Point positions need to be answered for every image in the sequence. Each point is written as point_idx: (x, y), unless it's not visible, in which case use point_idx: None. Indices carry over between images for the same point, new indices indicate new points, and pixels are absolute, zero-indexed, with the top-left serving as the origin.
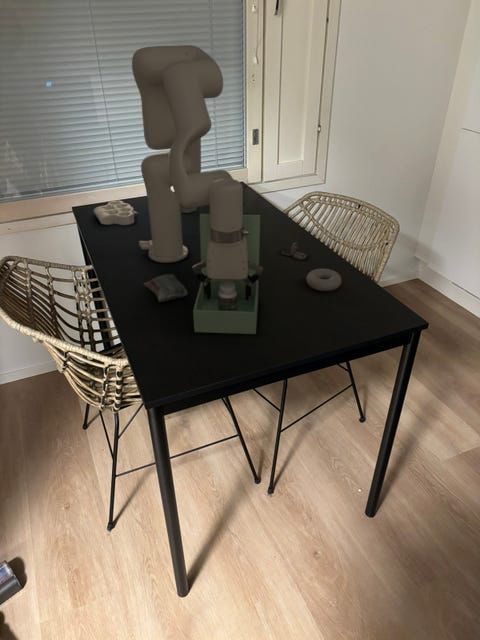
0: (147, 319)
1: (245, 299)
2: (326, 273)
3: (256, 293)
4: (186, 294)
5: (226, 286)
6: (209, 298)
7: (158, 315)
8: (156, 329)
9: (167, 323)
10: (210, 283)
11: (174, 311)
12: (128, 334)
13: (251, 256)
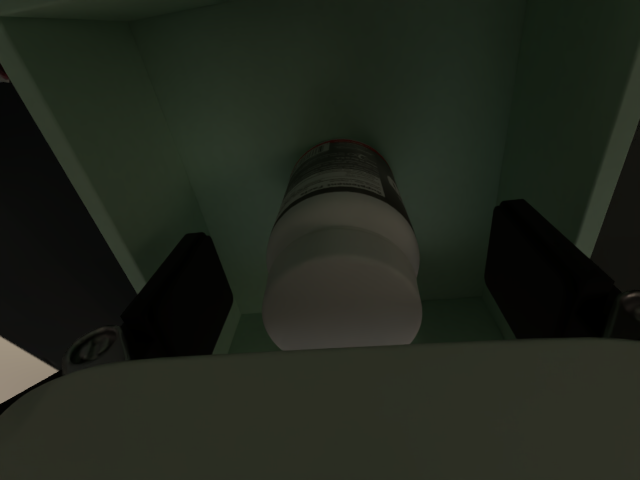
0: (13, 270)
1: (486, 283)
2: None
3: (602, 194)
4: (2, 81)
5: (340, 342)
6: (230, 305)
7: (27, 237)
8: (98, 317)
9: (107, 281)
10: (172, 318)
11: (65, 194)
12: (37, 348)
13: None
